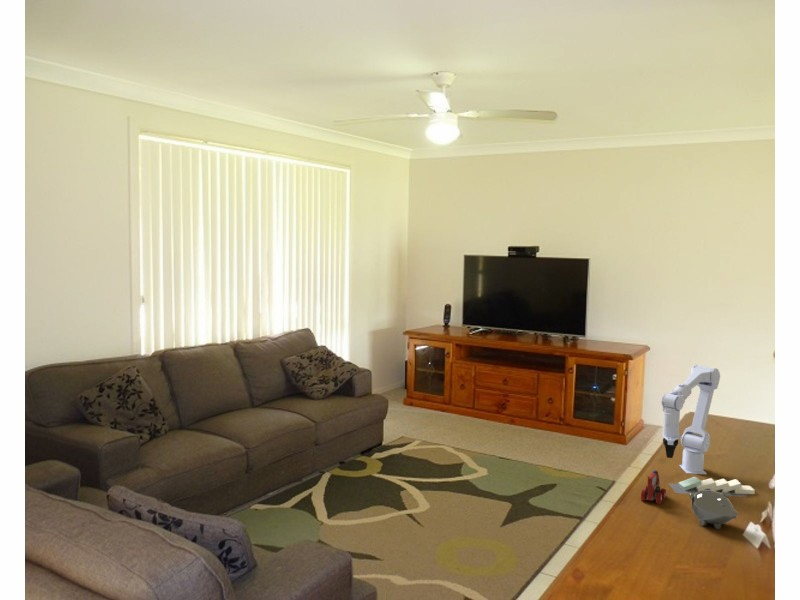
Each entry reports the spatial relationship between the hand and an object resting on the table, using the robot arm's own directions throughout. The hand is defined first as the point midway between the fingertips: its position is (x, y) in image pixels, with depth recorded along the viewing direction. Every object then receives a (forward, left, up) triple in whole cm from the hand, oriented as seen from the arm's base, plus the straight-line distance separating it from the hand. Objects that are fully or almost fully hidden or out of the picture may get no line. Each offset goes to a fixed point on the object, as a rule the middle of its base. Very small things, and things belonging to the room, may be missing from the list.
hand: (669, 457), depth 257 cm
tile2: (+8, +8, -9) cm, 14 cm away
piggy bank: (+38, +3, -10) cm, 39 cm away
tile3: (+8, +12, -9) cm, 17 cm away
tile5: (+8, +22, -9) cm, 25 cm away
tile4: (+8, +17, -9) cm, 21 cm away
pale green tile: (+8, +3, -9) cm, 12 cm away
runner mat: (+8, +12, -10) cm, 17 cm away
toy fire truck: (+19, -11, -10) cm, 24 cm away
